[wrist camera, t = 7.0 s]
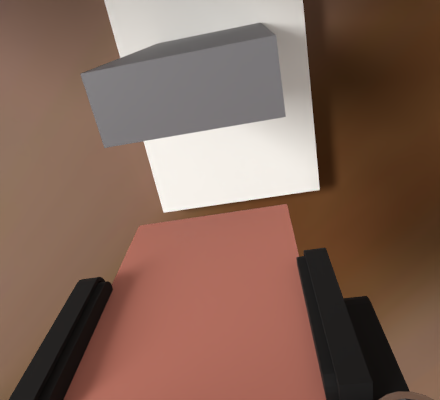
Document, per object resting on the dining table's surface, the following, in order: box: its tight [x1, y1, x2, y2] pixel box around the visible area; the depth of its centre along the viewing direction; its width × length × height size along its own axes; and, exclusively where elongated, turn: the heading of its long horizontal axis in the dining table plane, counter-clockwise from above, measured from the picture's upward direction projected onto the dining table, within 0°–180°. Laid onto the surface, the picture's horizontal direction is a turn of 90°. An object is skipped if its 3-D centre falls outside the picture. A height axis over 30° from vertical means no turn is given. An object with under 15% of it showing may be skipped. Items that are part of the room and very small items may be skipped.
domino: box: [81, 22, 286, 148], centre depth 15 cm, size 2×5×10 cm, turn 101°
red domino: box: [64, 204, 326, 400], centre depth 9 cm, size 2×5×10 cm, turn 101°
